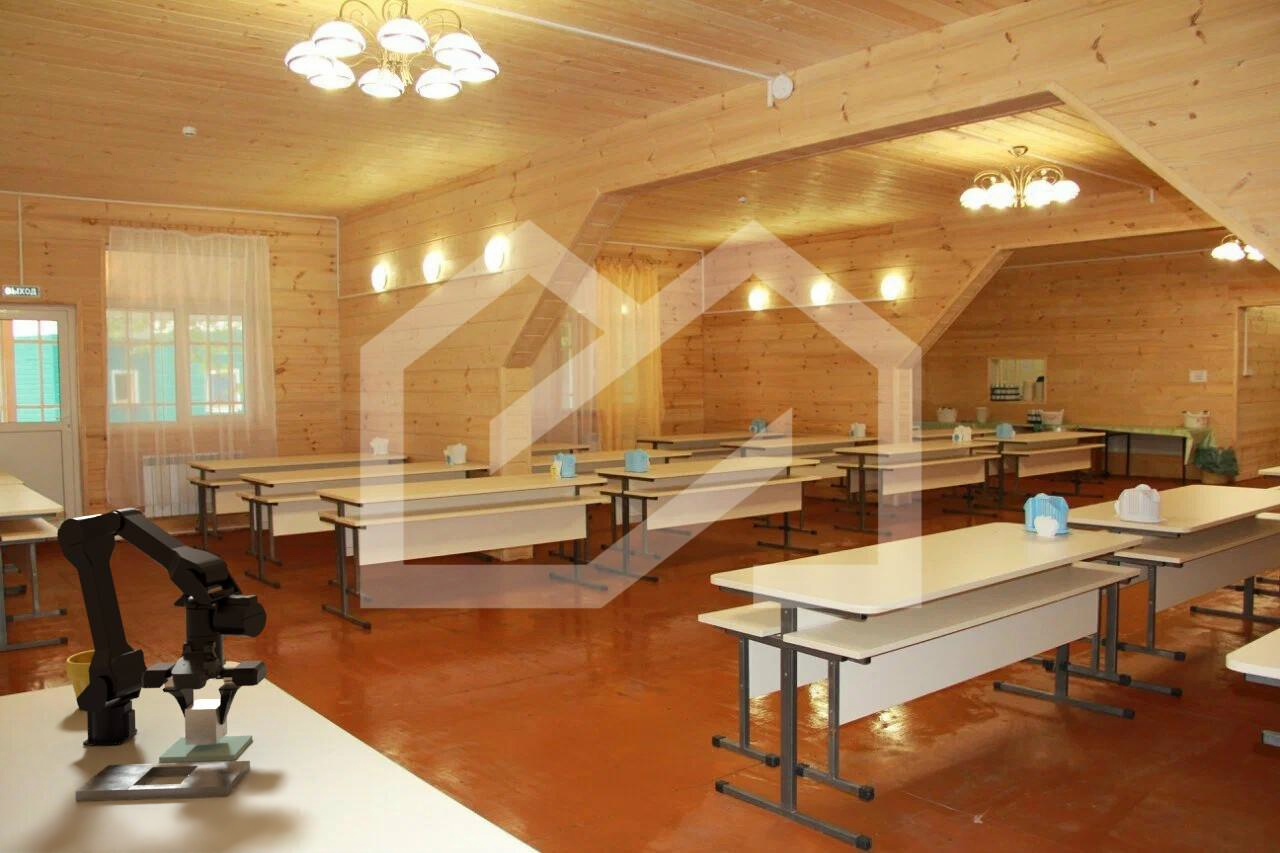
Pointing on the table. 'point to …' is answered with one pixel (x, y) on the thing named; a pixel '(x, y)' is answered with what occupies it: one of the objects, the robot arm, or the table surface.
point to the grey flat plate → (132, 777)
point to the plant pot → (79, 670)
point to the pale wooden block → (204, 723)
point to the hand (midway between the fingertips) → (206, 724)
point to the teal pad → (206, 750)
